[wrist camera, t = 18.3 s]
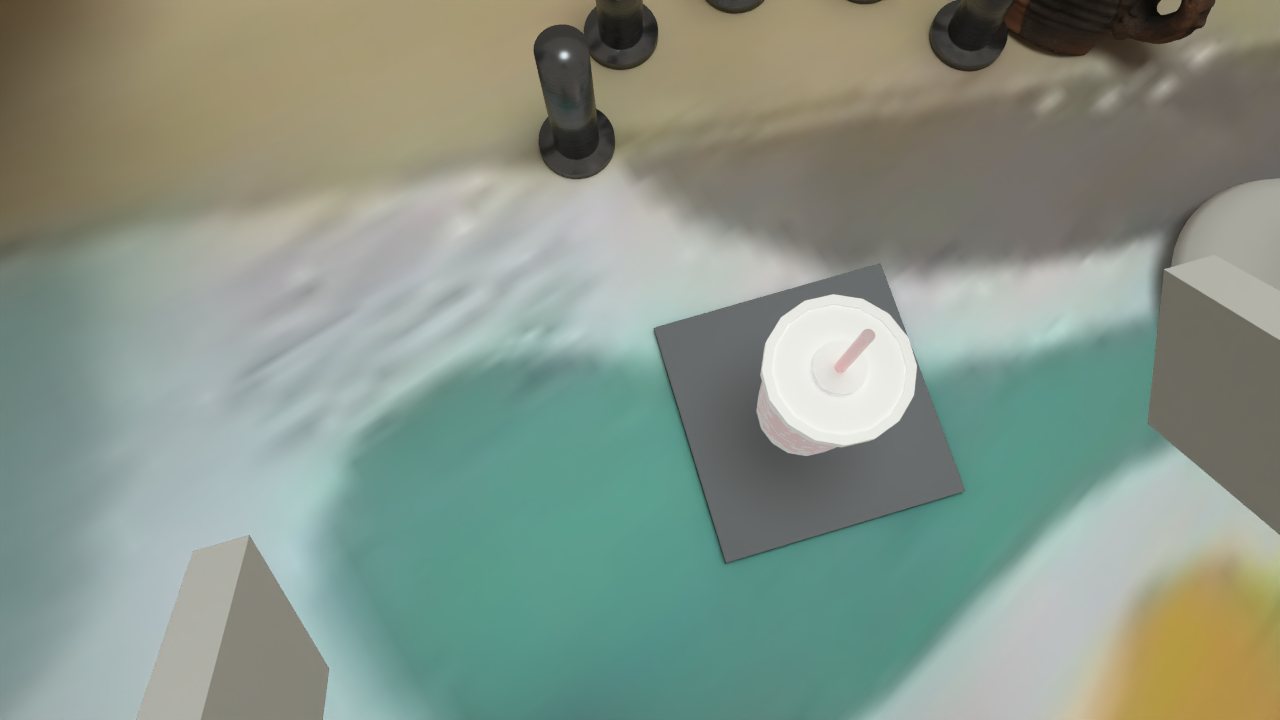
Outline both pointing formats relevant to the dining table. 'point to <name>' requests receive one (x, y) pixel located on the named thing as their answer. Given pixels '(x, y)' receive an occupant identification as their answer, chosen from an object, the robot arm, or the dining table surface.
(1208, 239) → the flower in vase
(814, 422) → the beverage cup
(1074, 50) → the pottery mug
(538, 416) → the dining table surface
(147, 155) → the dining table surface
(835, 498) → the mat
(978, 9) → the posts
